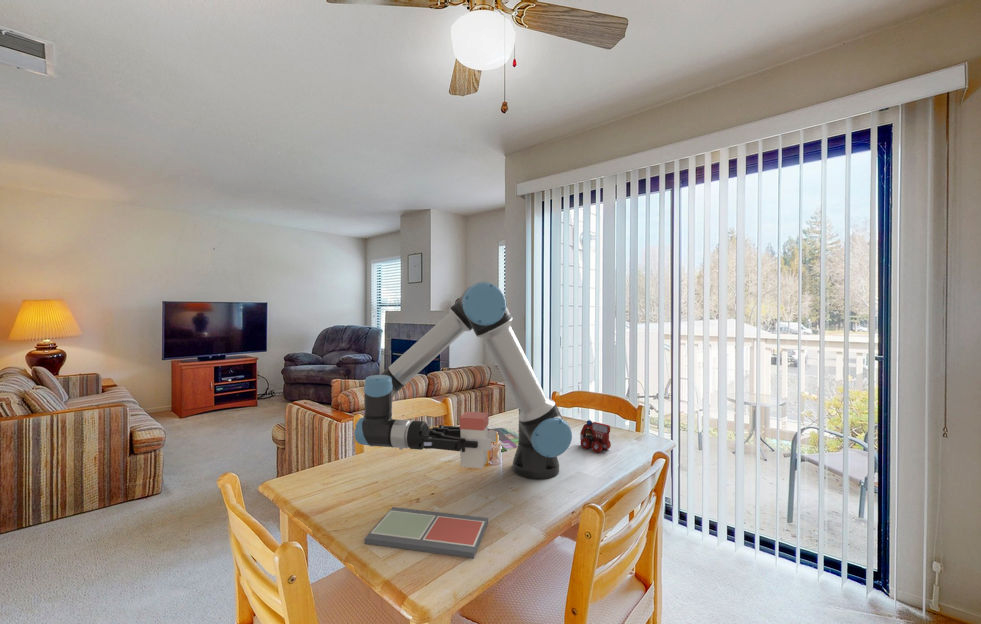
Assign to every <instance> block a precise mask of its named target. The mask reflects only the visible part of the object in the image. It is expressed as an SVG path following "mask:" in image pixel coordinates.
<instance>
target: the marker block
mask: <svg viewBox="0 0 981 624" xmlns="http://www.w3.org/2000/svg"><path fill="white" fill-rule="evenodd" d="M489 417H490V416H489V412H482V411H481V412H480V411H479V412H478V411H465V412H464V413H463V414H462V415H461V416H460V417H459V427H460V429H461V438H464V439H465V440H466V437H471V438H485V439H487V437H488V426H489V424H490V423H489V419H490V418H489ZM459 453H460V458H459V462H460V463H459V465H460V466H459V467H461V468H470V469H483V468H484V467H485V465H486V463H487V461H488V450H480V449H467V448H466V447H465V452H462V449H461V451H459Z"/></svg>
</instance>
